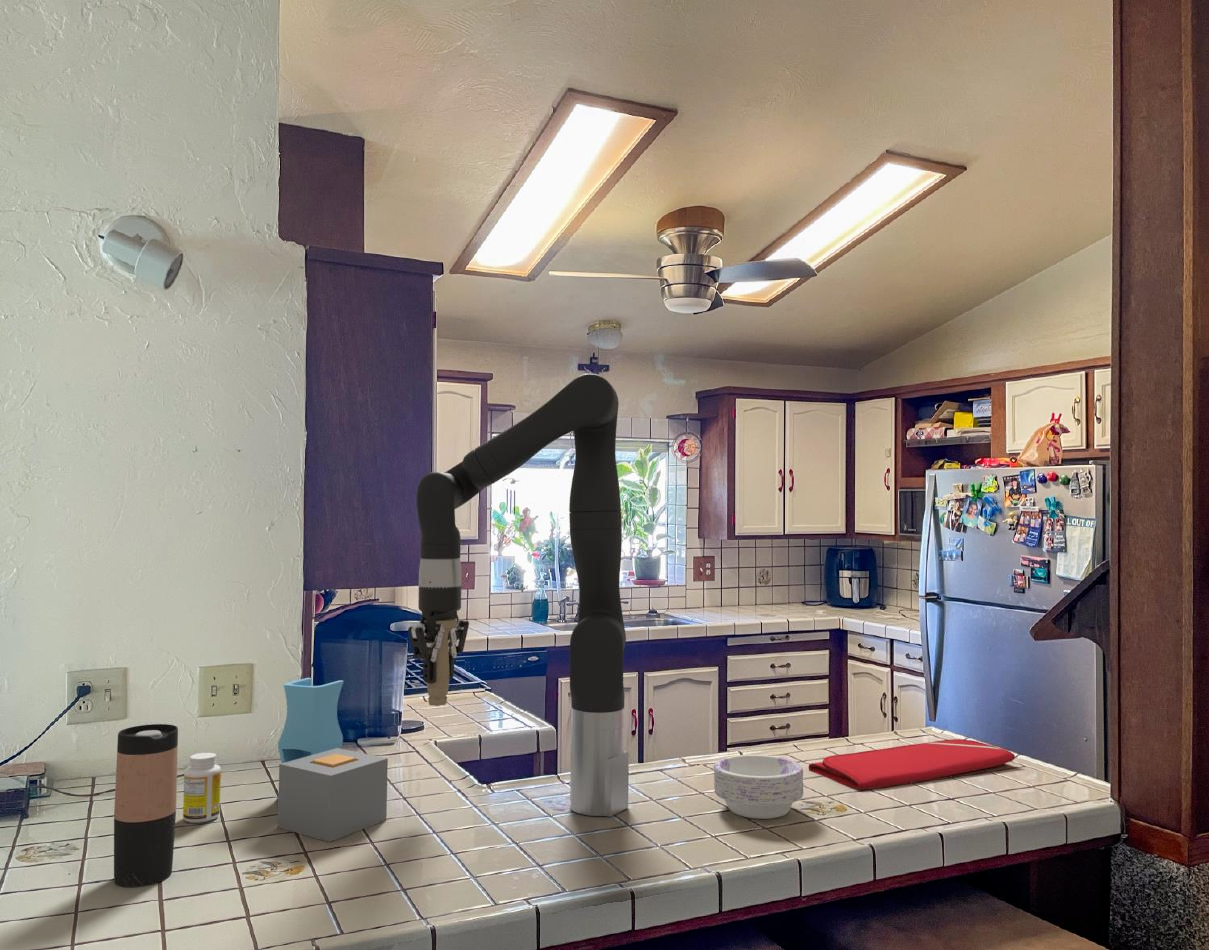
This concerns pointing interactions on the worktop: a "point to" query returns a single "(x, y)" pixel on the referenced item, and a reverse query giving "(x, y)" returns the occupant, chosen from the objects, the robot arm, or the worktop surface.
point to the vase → (310, 720)
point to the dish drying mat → (910, 763)
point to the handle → (441, 667)
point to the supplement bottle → (202, 789)
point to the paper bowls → (758, 785)
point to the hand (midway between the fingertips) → (438, 680)
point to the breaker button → (334, 760)
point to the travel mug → (145, 804)
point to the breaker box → (332, 795)
